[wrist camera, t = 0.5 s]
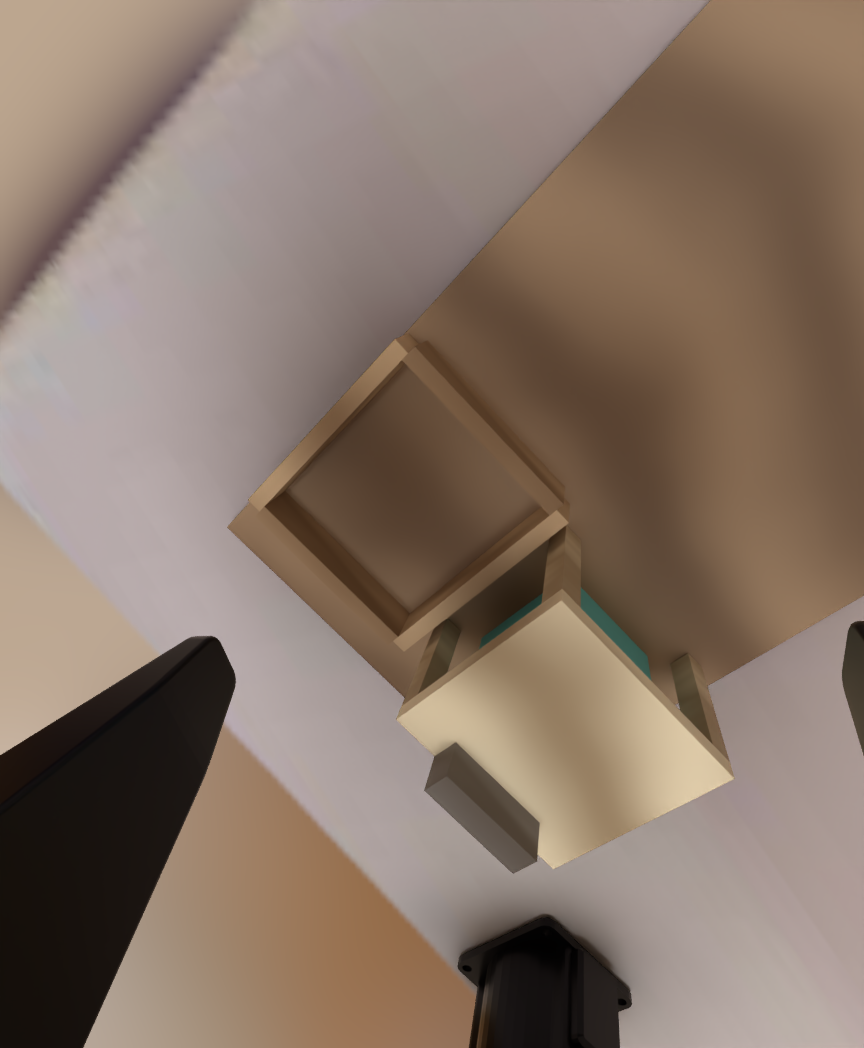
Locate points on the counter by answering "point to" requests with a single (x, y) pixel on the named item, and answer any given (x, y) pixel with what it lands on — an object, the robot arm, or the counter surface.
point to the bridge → (558, 730)
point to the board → (624, 380)
